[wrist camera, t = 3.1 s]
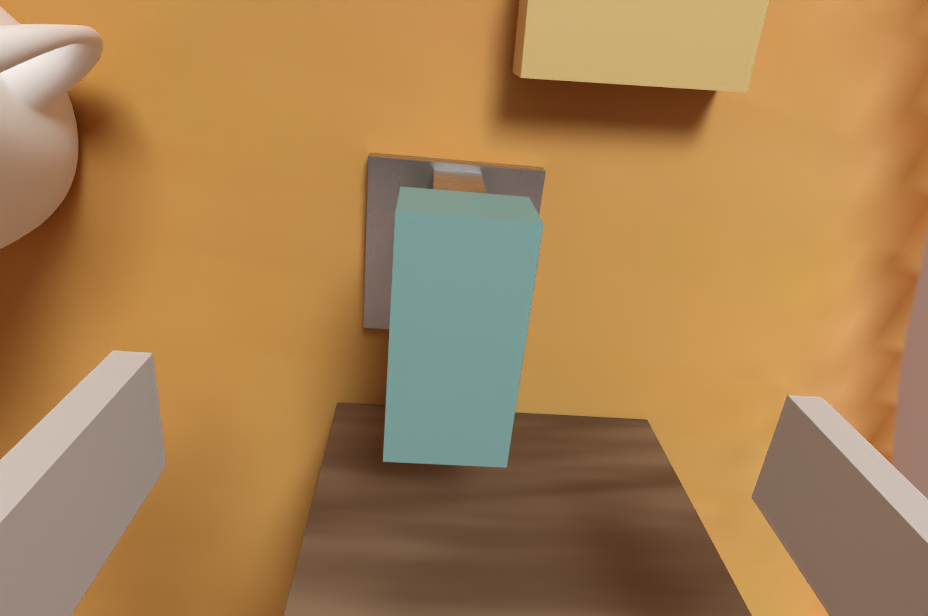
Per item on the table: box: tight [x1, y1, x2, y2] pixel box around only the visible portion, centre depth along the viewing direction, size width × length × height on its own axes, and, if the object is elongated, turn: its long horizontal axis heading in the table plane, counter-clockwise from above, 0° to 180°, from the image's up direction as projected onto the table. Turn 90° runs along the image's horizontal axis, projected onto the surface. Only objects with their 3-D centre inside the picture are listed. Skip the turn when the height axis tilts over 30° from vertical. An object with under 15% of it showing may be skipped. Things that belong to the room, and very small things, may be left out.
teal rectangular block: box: [383, 187, 543, 468], centre depth 17 cm, size 7×3×2 cm, turn 175°
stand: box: [363, 153, 545, 329], centre depth 20 cm, size 6×6×6 cm
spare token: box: [512, 0, 769, 92], centre depth 19 cm, size 7×3×2 cm, turn 86°
